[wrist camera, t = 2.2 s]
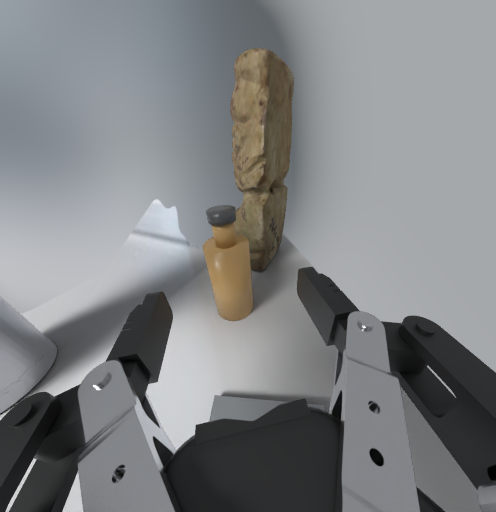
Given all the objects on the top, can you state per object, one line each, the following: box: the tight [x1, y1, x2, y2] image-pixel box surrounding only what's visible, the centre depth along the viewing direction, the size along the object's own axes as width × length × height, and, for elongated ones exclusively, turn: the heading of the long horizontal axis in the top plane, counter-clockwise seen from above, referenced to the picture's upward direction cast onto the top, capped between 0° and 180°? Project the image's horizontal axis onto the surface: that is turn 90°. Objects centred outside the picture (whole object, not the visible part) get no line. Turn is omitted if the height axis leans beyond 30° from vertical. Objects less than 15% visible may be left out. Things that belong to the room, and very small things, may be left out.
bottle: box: [203, 205, 253, 321], centre depth 23 cm, size 6×6×15 cm
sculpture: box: [231, 48, 294, 271], centre depth 31 cm, size 12×9×30 cm
